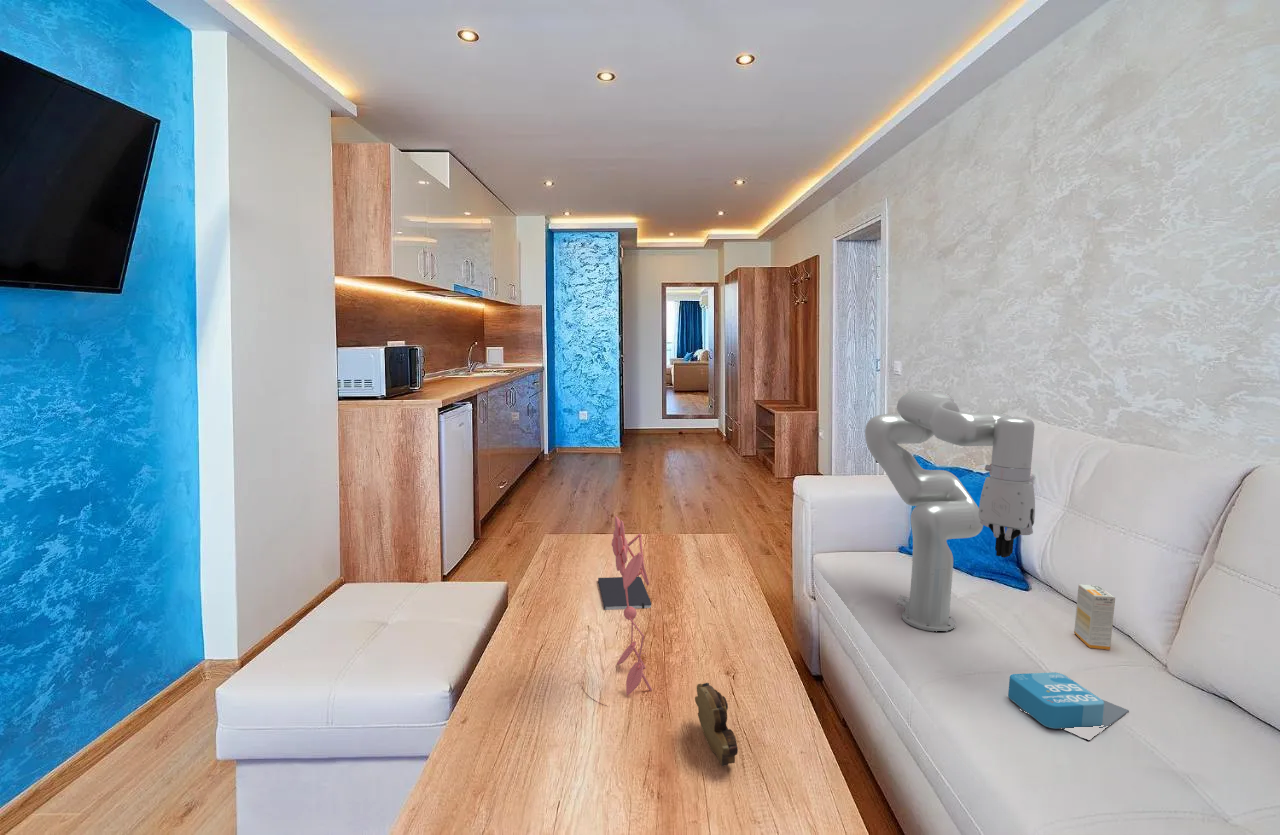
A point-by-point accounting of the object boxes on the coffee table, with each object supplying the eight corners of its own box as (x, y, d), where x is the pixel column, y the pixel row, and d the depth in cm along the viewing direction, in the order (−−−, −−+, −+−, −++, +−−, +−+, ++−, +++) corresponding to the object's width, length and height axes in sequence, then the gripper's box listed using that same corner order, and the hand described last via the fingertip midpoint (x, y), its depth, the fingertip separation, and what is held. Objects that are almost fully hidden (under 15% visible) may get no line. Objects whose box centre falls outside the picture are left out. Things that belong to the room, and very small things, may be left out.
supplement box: (1111, 650, 152) (1117, 597, 151) (1088, 648, 153) (1094, 595, 152) (1094, 635, 160) (1099, 584, 159) (1072, 633, 161) (1077, 583, 160)
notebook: (598, 582, 191) (604, 612, 170) (598, 577, 191) (604, 606, 170) (640, 581, 193) (652, 610, 172) (640, 576, 193) (652, 604, 172)
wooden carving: (747, 773, 106) (749, 716, 105) (721, 778, 104) (723, 720, 103) (708, 718, 121) (710, 667, 120) (686, 721, 120) (687, 670, 119)
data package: (1060, 671, 132) (1109, 703, 120) (1058, 692, 132) (1106, 726, 121) (1005, 673, 131) (1049, 706, 119) (1004, 694, 131) (1047, 729, 119)
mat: (1019, 710, 126) (1019, 708, 126) (1061, 684, 136) (1061, 683, 136) (1088, 741, 116) (1088, 740, 116) (1128, 711, 126) (1129, 710, 126)
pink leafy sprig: (643, 649, 148) (643, 500, 144) (662, 713, 123) (662, 534, 119) (576, 654, 146) (574, 503, 142) (581, 719, 121) (579, 538, 117)
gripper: (967, 469, 144) (961, 549, 146) (1038, 482, 132) (1031, 568, 134) (984, 466, 148) (978, 544, 150) (1055, 478, 136) (1048, 562, 138)
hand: (1003, 555), depth 142 cm, fingers closed
